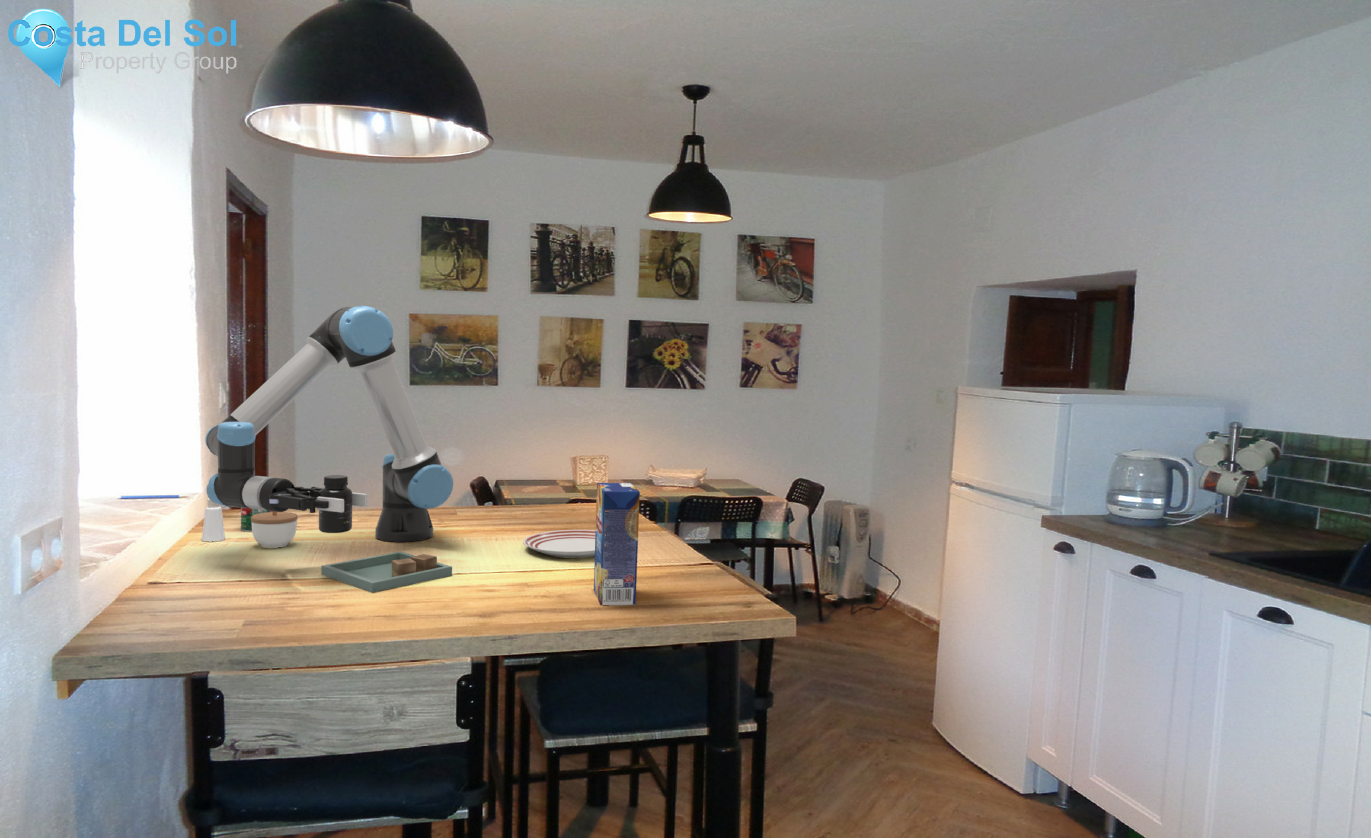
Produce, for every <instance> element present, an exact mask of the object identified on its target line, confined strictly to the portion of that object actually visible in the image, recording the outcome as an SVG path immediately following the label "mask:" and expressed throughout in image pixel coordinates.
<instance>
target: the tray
mask: <svg viewBox="0 0 1371 838" xmlns="http://www.w3.org/2000/svg"><path fill="white" fill-rule="evenodd" d="M414 556H415V555H414V554H410V553H408V552H403V551H400V550H399V551H396V552H390V553H385V554H380V555H379V554H378V555H371V556H368V557H363V558H362V557H361V558H357V559H352V560H346V561H344V560H343V561H340V562H333V563H328V564H324V565H323V564H322V565H321V568H320V569H321V574H320V575H321V576H324V577H327V578H329V579H332V580H335V581H338V582H339V583H340V582H341V583H343V584H346V585H349V586H352V587H355V588H358V589H360V590H363V591H366V592H369V593H371V594H374V593H377V592H382V591H387V590H392V589H396V588H401V587H406V586H410V585H415V584H419V583H424V582H429V581H433V580H438V579H442V578H447V577H451V576H453V566H452V565H449V564H444V563H440V562H438V561H437V568H435V569H430V570H425V571H420V572H416V573H411V574H406V575H401V576H396V577H392V560H400V559H409V558H410V559H411V557H414Z"/></svg>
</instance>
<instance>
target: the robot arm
mask: <svg viewBox="0 0 1371 838" xmlns="http://www.w3.org/2000/svg"><path fill="white" fill-rule="evenodd" d="M393 338H394V328H393V324H392V322H391V321H390V318H388V316H387V315H386V314H385V313H384V312H383V311H381V310H379V309H377V308H374V307H371V306H367V305H357V306H348V307H347V306H346V307H340V308H339V309H336V310H335V311H333V312H332V313H331V314H330V315H329V316H328V317H327V318H326V319H325V320H324V321H323V322H322V323H321V324H320V325H319V326H318V327H317V328H316V329H315V330H314V331H313V332H312V333H311V334H310V335H309V336H308V337H307V338H306V344H305V345H304V346H303V347H302V348H301V349H300V350H299V351H298V352H297V353H296V354H294V356H292V357H291V358H290V359H289V360H288V361H286V363H285V364H283V365H282V367H281V368H279V369H278V370H277V371H276V372H275V373H273V375H271V377H270V378H269V379H267V380H266V381H265V382H264V383H263V384H262V385H261V386H259V388H258V389H257V390H255V391H254V392H253V393H252V394H251V395H250V396H249V397H248V398H247V399H245V400H244V402H242V403H241V404H240V405H239V406H238V407H236V409H234V411H232V412H231V414H230V415H228V417H226V418H225V419H224V420H223V421H222V422H221V423H218V424H217V425H214V426H212V427H211V428H210V429H208V431H207V433H206V435H205V437H204V438H205V440H204V441H205V445H206V447H207V449H208V450H209V451H210V453H212V455H214V456H217V465H218V466H217V473H215V474H214V475H212V476H211V477H210V478H209V480H208V484H207V485H206V489H205V491H206V495H207V497H208V498H209V499H210V500H211V501H212V502H213V503H215V504H219V506H224V507H228V508H240V509H241V508H250V509H258V512H262V511H263V510H267V511H274V512H287V511H288V510H295V511H300V512H301V511H302V512H305V511H307V510H309V514H315V513H316V510H317V511H319V510H324V511H333V512H344V499H336V498H326V497H319V492H320V491H321V490H322V489H323V488H324V487H317V486H312V487H311V486H310V488H309V487H303V486H295V485H294V483H293V482H292V481H291V480H289V479H287V478H279V477H272V476H264V475H263V476H261V475H256V467H255V463H256V462H255V460H256V459H255V458H256V456H255V455H256V451H255V449H256V448H255V447H256V445H255V444H256V437H257V435H258V434H259V433H260V432H261V431H262V430H263V429H264V428H265V427H266V426H268V424H270V423H271V422H272V421H273V420H274V419H275V418H276V417H277V416H278V415H279V414H280V413H281V412H282V411H283V410H285V408H287V406H289V405H290V404H291V403H292V402H293V401H294V400H296V398H297V397H298V396H300V394H302V392H304V391H305V390H306V389H307V388H308V387H309V386H310V385H311V384H312V383H313V382H314V381H315V380H316V379H318V377H319V376H321V374H323V373H324V372H325V371H326V370H327V369H328V368H329V367H330V366H338V364H340V362H341V361H343V360H344V359H346V361H347V363H348V367H349V368H350V369H352V370H354V371H357V372H358V373H359V376H360V378H361V380H362V383H363V385H364V388H365V390H366V392H367V395H368V397H369V399H370V402H371V405H372V406H373V409H374V412H375V414H376V416H377V420H378V421H379V424H380V426H381V428H382V430H383V433H384V436H385V438H386V440H387V442H388V445H389V447H390V450H391V452H392V453H387V454H386V455H384V457H383V460H382V461H383V462H382V465H381V467H382V506H381V507H382V508H381V512H380V515H379V518H378V521H377V524H376V527H375V532H374V533H375V534H374V536H375V539H377V540H380V541H386V542H396V543H397V542H399V543H402V542H403V543H404V542H415V541H423V540H428V539H430V538H433V536H434V526H433V523H432V520H431V517H430V513H429V510H431V509H435V508H438V507H440V506H442V505H443V504H444V503H446V502H447V500H448V499H449V498H450V497H451V494H452V492H453V489H454V478H453V476H452V474H451V472H450V471H449V469H448V468H447V467H445V466H444V465H442V462H441V460H440V457H439V455H438V452H437V450H436V448H433V447H431V446H428V444H427V441H426V439H425V436H424V434H423V431H422V429H421V427H420V424H419V422H418V419H417V416H416V413H415V411H414V409H413V407H412V404H411V402H410V399H409V397H408V394H407V392H406V390H405V386H404V384H403V382H402V379H401V377H400V375H399V372H398V369H397V367H396V365H395V362H394V359H395V356H396V354H397V351H396V347H395V345H394V343H393ZM352 506H353V507H355V506H357V507H364V508H365V507H368V493H362V492H361V493H360V492H352ZM428 509H429V510H428ZM429 537H430V538H429ZM427 538H428V539H427Z"/></svg>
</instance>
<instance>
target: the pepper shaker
mask: <svg viewBox="0 0 1371 838" xmlns="http://www.w3.org/2000/svg"><path fill="white" fill-rule="evenodd" d="M206 501H207V507H204V509H205V510H204V517H203V525H202V526H203V527H202V533H201V541H202V542H204V541H209V542H208V543H213V542H212V541H218V542H223V541H225V540H226V536H225V535H226V534H225V525H224V516H223V509H222V507H221V506H220V505H219V504H215V503H213V502H212V501H211V500H210V499H209V497H208V498H207V499H206ZM224 539H225V540H224Z"/></svg>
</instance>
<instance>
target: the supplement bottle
mask: <svg viewBox="0 0 1371 838" xmlns="http://www.w3.org/2000/svg"><path fill="white" fill-rule="evenodd" d="M348 478H349V477H348V476H347V475H344V474H342V475H341V474H329V475H326V476H325V475H324V477H323V486H324V487H322V488H323V489H322V490H321V491H320V492H319V497H326V498H336V499H344V512H333V511H324V510H318V530H319V532H321V533H325V534H343V533H346V532H350V531H351V530H352V528H353V505H352V493H353V491H352V490H351V488H349V487H347V486H348V485H349V481H348V480H349V479H348Z"/></svg>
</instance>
